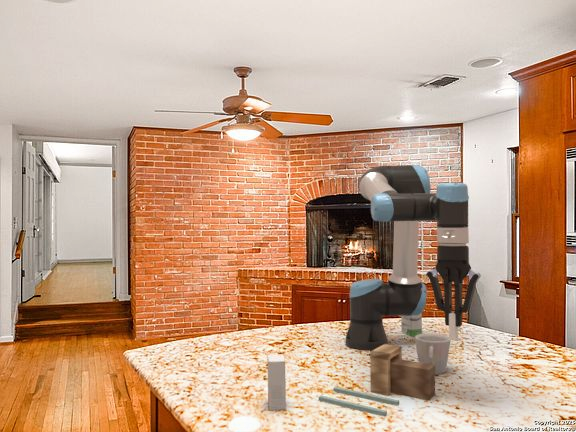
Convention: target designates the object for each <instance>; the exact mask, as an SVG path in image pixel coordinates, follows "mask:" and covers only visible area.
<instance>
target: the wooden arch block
mask: <svg viewBox="0 0 576 432" xmlns="http://www.w3.org/2000/svg"><path fill="white" fill-rule="evenodd" d="M402 347H403V346H400V345H393V344H389V343H388V344H384V345H382V346H380V347H378V348H376V349H374V350H370V352H369V354H370V355H369V357H370V359H369V361H370V369H369V370H370V393H374V394H378V395H383V396H390V395H391V394H392V393H391V389H390V359H391V358H396V359H402V360H403V357H402V356H403V354H402V353H403V352H402Z"/></svg>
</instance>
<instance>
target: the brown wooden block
mask: <svg viewBox="0 0 576 432" xmlns="http://www.w3.org/2000/svg"><path fill="white" fill-rule="evenodd" d="M390 389H391V394H392V395H398V396H403V397H408V398H412V399H417V400H422V401H423V400H424V401H428V402H429V401H431V400H432V399H433V398H434V397H435V396H436V374H435V365H433V364H427V363H421V362H419V361H412V360H408V359H403V358H402V359H396V358H391V359H390Z"/></svg>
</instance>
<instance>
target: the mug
mask: <svg viewBox="0 0 576 432" xmlns="http://www.w3.org/2000/svg"><path fill="white" fill-rule="evenodd" d="M414 341H415V348H416V355H417V362H421V363H427V364H433V365H435V375H441V374H444V373H446V372H447V367H448V360H449V353H450V348H451V347H450V346H451V341H452V340H449V335H448V336H447V335H445V334H439V333H431V332H430V333H429V332H428V333H427V332H426V333H422V334H419V335H416V336H414Z"/></svg>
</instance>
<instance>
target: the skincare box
mask: <svg viewBox="0 0 576 432" xmlns="http://www.w3.org/2000/svg"><path fill="white" fill-rule="evenodd" d="M266 356H267V401H268V409H269V410H268V411H281V410H282V411H283V410H286V409H287V402H286V401H287V400H286V399H287V397H286V393H287V392H286V391H287V389H286V387H287V386H286V385H287V384H286V360H285V359H286V358H285V355H284V353H281V354H280V353H278V354H273V353H272V354H267V355H266Z"/></svg>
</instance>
